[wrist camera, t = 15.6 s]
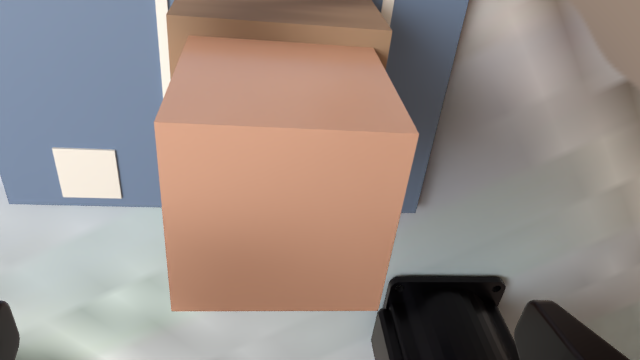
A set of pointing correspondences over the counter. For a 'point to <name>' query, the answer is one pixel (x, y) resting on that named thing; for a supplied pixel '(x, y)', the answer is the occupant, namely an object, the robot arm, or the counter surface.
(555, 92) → the counter surface
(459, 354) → the robot arm
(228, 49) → the terracotta cube
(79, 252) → the counter surface
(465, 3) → the board
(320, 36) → the walnut block
